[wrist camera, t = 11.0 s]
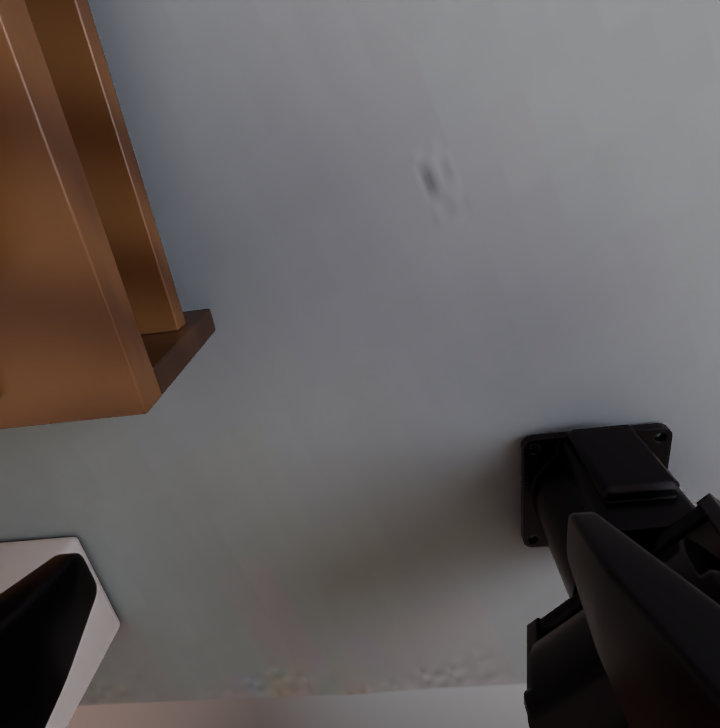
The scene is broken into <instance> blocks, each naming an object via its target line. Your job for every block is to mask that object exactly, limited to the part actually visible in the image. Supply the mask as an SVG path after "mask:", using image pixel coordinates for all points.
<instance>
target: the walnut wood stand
mask: <svg viewBox="0 0 720 728" xmlns="http://www.w3.org/2000/svg"><path fill="white" fill-rule="evenodd" d="M214 331H215V326H214V323H213V319H212V315H211V312H210V309H205V310H197V311H189V312H182V309H181V306H180V302H179V299H178V296H177V293H176V289H175V286H174V283H173V279H172V276H171V273H170V270H169V266H168V263H167V260H166V256H165V253H164V250H163V247H162V243H161V240H160V237H159V234H158V230H157V227H156V224H155V220H154V217H153V214H152V211H151V207H150V204H149V201H148V197H147V194H146V191H145V188H144V184H143V181H142V178H141V174H140V171H139V168H138V165H137V161H136V158H135V155H134V151H133V148H132V145H131V142H130V138H129V135H128V132H127V129H126V125H125V122H124V119H123V115H122V112H121V109H120V106H119V102H118V99H117V96H116V92H115V89H114V86H113V83H112V79H111V76H110V73H109V69H108V66H107V63H106V60H105V56H104V53H103V50H102V46H101V43H100V40H99V37H98V33H97V30H96V27H95V24H94V20H93V17H92V14H91V10H90V7H89V4H88V1H87V0H0V429H5V428H15V427H24V426H34V425H43V424H53V423H62V422H71V421H81V420H90V419H100V418H109V417H119V416H128V415H138V414H146V413H148V411H149V410H150V409H151V408H152V406H153V405H154V404H155V403H156V402H157V400H158V399H159V398H160V397H161V394H163V393H164V392H165V391H166V389H167V388H168V387H169V386H170V385H171V383H172V382H173V381H174V380H175V379H176V377H177V376H178V375H179V374H180V373H181V371H182V370H183V369H184V368H185V366H186V365H187V364H188V363H189V362H190V360H191V359H192V358H193V357H194V356H195V354H196V353H197V352H198V351H199V350H200V348H201V347H202V346H203V345H204V343H205V342H206V341H207V340H208V339H209V337H210V336H211V335H212V334H213V333H214Z"/></svg>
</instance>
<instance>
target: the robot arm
mask: <svg viewBox="0 0 720 728" xmlns="http://www.w3.org/2000/svg"><path fill="white" fill-rule="evenodd" d="M658 433H661V435H660V436H658V437H655V436H656V435H657V434H658ZM671 442H672V432H671V431H670V430H669V429H668V428H667V426H666V425H664V424H662V423H653V424H642V425H632V426H629V425H620V426H610V427H599V428H588V429H578V430H572V431H568V432H558V433H547V434H536V435H530V436H527V437H525V438H524V439H523V440H522V442H521V536H522V539H523V542H524V544H525V545H526V546H528V547H545V546H549V548H550V550H551V553H552V555H553V558H554V560H555V563H556V565H557V568H558V570H559V573H560V575H561V578H562V580H563V583H564V585H565V588H566V590H567V593H568V595H569V597H570V598H569V599H568V600H566V601H565V602H564V603H562V604H561V605H560V606H558V607H557V608H555V609H554V610H553V611H551V612H550V613H548V614H547V615H546V616H544V617H543V618H542V619H540V618H537V619H535V620H534V621H533V622H531V623H530V624H528V625H527V690H526V691H525V693H524V704H525V708H526V711H527V715H528V723H529V727H530V728H720V501H719V500H718V499H717V498H715V497H714V496H713V495H711V494H710V493H709V494H708V495H706V496H705V497H703V498H702V499H701V500H699V501H698V502H697V505H698V506H697V507H695V506H694V505H693V504H692V503H691V502H690V500H689V499H688V498H687V497H686V496H685V494H684V493H683V492H682V491H681V490H680V488H679V486H680V485H679V483H678V481H677V480H676V479H675V478H674V477H673V475H672V474H671V473H670V472H669V471H668V470H667V469H668V463H669V456H670V449H671ZM533 444H536V445H537V446H536V447H535V448H532V449H530V448H529V447H530V446H531V445H533ZM531 536H535V537H533V538H530V537H531ZM96 593H97V585H96V581H95V579H94V577H93V575H92V573H91V571H90V569H89V567H88V565H87V563H86V561H85V559H84V558H83V556H82V555H80V554H79V553H68V554H59V555H56V556H54V557H52V558H51V559H49V560H48V561H47V562H45V563H44V564H42V565H41V566H39V567H38V568H37V569H35V570H34V571H32V572H31V573H29V574H28V575H27V576H25V577H24V578H22V579H21V580H19V581H18V582H17V583H15V584H14V585H12V586H11V587H9V588H8V589H7V590H5V591H4V592H2V593H1V594H0V728H45V727H46V725H47V723H48V720H49V718H50V716H51V714H52V712H53V709H54V707H55V705H56V703H57V701H58V698H59V696H60V694H61V692H62V689H63V687H64V684H65V682H66V680H67V677H68V674H69V672H70V669H71V667H72V664H73V661H74V658H75V655H76V652H77V649H78V647H79V644H80V641H81V638H82V635H83V632H84V629H85V627H86V624H87V621H88V618H89V615H90V612H91V609H92V607H93V604H94V601H95V598H96Z"/></svg>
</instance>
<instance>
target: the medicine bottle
mask: <svg viewBox="0 0 720 728" xmlns="http://www.w3.org/2000/svg"><path fill="white" fill-rule="evenodd" d="M68 553H79V554H80V555H82V556H83V558H84V559H85V561H86V563H87V565H88V567H89V569H90V571H91V573H92V575H93V577H94V579H95V581H96V585H97V593H96V598H95V601H94V604H93V607H92V609H91V612H90V615H89V618H88V621H87V624H86V627H85V629H84V632H83V635H82V638H81V641H80V644H79V647H78V649H77V652H76V655H75V658H74V661H73V664H72V667H71V669H70V672H69V674H68V677H67V680H66V682H65V684H64V687H63V689H62V692H61V694H60V696H59V698H58V701H57V703H56V705H55V707H54V709H53V712H52V714H51V716H50V718H49V720H48V723H47V725H46V727H45V728H67V726H68V724H69V722H70V720H71V718H72V716H73V715H74V713H75V711H76V709H77V707H78V705H79V703H80V701H81V699H82V697H83V696H84V694H85V692H86V690H87V688H88V686H89V684H90V682H91V680H92V678H93V676H94V675H95V673H96V671H97V669H98V667H99V665H100V663H101V661H102V659H103V657H104V655H105V654H106V652H107V650H108V648H109V646H110V644H111V642H112V640H113V638H114V636H115V635H116V633H117V631H118V629H119V627H120V621H119V619H118V617H117V615H116V614H115V612H114V610H113V608H112V606H111V604H110V602H109V600H108V598H107V596H106V594H105V592H104V590H103V588H102V586H101V584H100V582H99V580H98V578H97V576H96V574H95V572H94V570H93V568H92V566H91V564H90V562H89V560H88V558H87V556H86V554H85V552H84V550H83V548H82V546H81V544H80V542H79V540H78V539H77V538H76V537H63V538H51V539H40V540H28V541H16V542H5V543H0V594H1V593H2V592H4V591H5V590H7V589H8V588H9V587H11V586H12V585H14V584H15V583H17V582H18V581H19V580H21V579H22V578H24V577H25V576H27V575H28V574H29V573H31V572H32V571H34V570H35V569H37V568H38V567H39V566H41V565H42V564H44V563H45V562H47V561H48V560H49V559H51V558H52V557H54V556H56V555H59V554H68Z"/></svg>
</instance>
